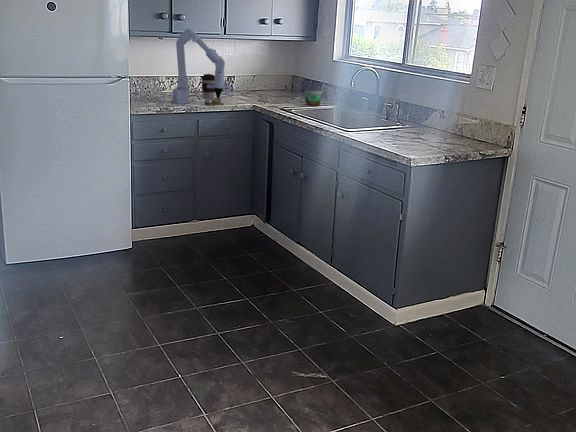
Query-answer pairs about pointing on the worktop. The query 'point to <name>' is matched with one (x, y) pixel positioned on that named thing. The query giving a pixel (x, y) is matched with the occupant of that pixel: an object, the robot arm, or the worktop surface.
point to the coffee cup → (208, 80)
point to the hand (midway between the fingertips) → (218, 100)
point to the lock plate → (212, 103)
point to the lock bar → (216, 100)
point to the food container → (313, 97)
